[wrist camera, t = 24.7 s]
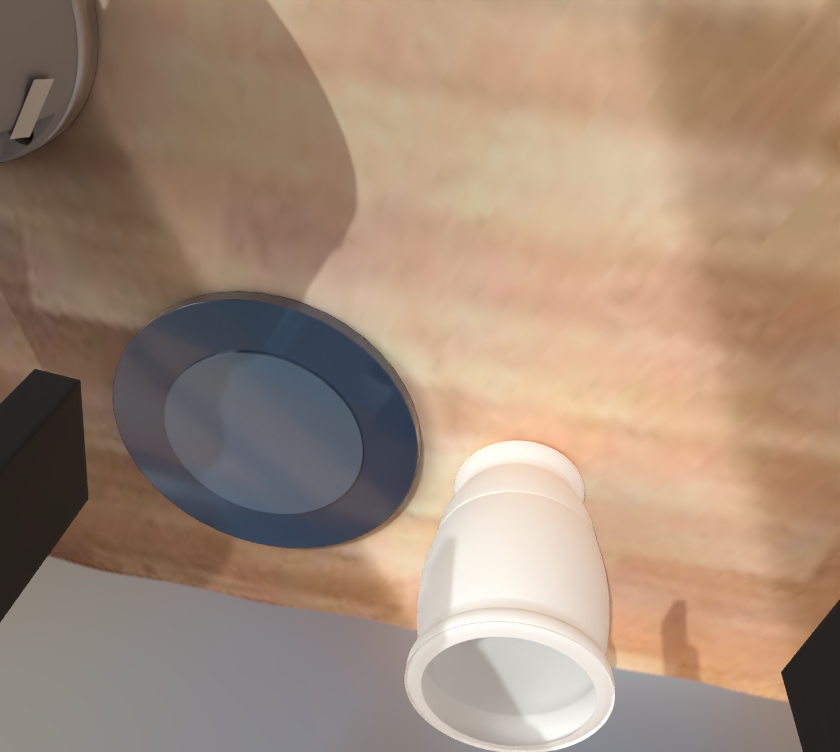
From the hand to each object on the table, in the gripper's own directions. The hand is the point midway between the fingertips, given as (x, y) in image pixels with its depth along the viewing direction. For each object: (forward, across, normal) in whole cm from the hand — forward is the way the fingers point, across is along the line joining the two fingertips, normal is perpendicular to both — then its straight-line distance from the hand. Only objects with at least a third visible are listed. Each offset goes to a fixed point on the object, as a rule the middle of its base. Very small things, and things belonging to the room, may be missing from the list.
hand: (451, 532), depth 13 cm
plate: (+29, -10, -24) cm, 39 cm away
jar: (+29, +7, -24) cm, 38 cm away
